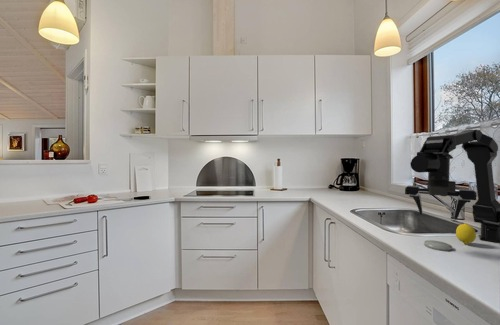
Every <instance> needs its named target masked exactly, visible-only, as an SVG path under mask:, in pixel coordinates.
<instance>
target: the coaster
mask: <svg viewBox="0 0 500 325" xmlns="http://www.w3.org/2000/svg"><path fill="white" fill-rule="evenodd" d="M423 246H424V247H426V246H427V248H428V249H432V250H436V251H440V252H441V251H442V252H452V251H453V246H452V245H451V244H449V243H447V242H444V241H439V240H433V239H430V240H429V239H427V240H424V242H423Z"/></svg>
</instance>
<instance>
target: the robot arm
mask: <svg viewBox="0 0 500 325" xmlns="http://www.w3.org/2000/svg"><path fill="white" fill-rule="evenodd" d="M460 145H461V148H462V149H463V150H464V152H465V153H466V156H467V159H468V160H469V161H470V162H471V163H472V164H473V166H474V175H475V186H476V191H475V190H474V189H469V188H467V189H466V188H465V189H464V188H459V189H458V190H457V189H456V188H457V187H456V184H457V183H456V181H455V180H450V170H451V169H450V168H451V167H450V166H451V165H450V162H451V160H452V159H454V156H453V155H452V154H450V152H452V151H454V150H455V149H457V146H460ZM498 151H499V145H498V143H497V141H495V140H494V138H493V137H491V136H489V135H486V134H484V133H483V132H482V131H481V130H480V129H467V130H466V129H465V130H463V131H462V130H461V131H460V132H456V133H452V134H446V135H445V134H444V135H433V136H432V135H431V136H428V137H426V140H425V141H424V143H423V144H422V146H421V148H420V150H419V151H417V152H416V155H415V156H414V157H412V159H411V160H410V168H411V170H413V171H414V172H416V173H427V174H428V175H427V184H426V187H427V188H421V187H420V185H407V186H406V187H405V188H404V194H405V195H408V196H409V198H413V200H414V201H415V204H416V206H417V209H418V212H419V214H420V216H422V215H423V205H422V197H421V196H422V195H421V194H424V195H429V196H440V197H447V196H449V197H457V198H456V206H455V211H454V220H457V219H458V217H459V215H460V213H461V211H462V209H463V207H464V206H465V205H466V203H471V201H476V202H475V203H474V204H472V216H473V217H472V218H473V222H474V223H479V224H480V234H478V238H479V240H480V241H487V242H493V243H498V244H500V202H499V201H498V200H497V199H496V194H495V191H496V190H495V183H494V172H493V162H494V160H495V158H496V157H497V156H498Z"/></svg>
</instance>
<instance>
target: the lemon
mask: <svg viewBox="0 0 500 325" xmlns="http://www.w3.org/2000/svg"><path fill="white" fill-rule="evenodd" d="M455 236H456V238H457V240H459V241H460V242H461V243H463V244H464V245H468V244H471V243H473V242H474V241H475V240H476V237H477V233H476V230H475V228H474V227H473V226H472V225H470V224H468V223H467V222H466V223H465V222H464V223H461V224H459V225H458V226H457V227H456V230H455Z"/></svg>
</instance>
